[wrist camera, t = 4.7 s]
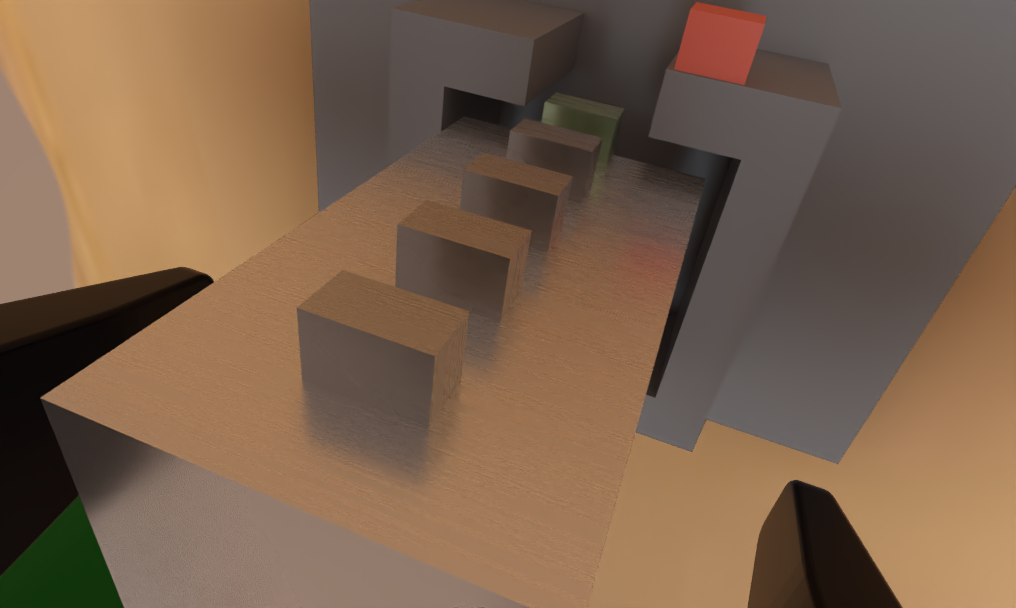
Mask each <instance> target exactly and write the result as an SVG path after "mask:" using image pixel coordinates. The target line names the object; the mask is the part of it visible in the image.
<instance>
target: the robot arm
mask: <svg viewBox="0 0 1016 608" xmlns="http://www.w3.org/2000/svg"><path fill="white" fill-rule="evenodd" d="M212 283H214V281H213V279H212V278H211V277H210V276H209V275H207V274H205V273H202V272H199V271H196V270H193V269H191V268H186V267H178V268H173V269H168V270H163V271H158V272H153V273H148V274H144V275H139V276H134V277H129V278H124V279H119V280H115V281H110V282H105V283H100V284H95V285H90V286H86V287H81V288H76V289H71V290H66V291H61V292H57V293H52V294H47V295H43V296H38V297H33V298H28V299H23V300H18V301H13V302H9V303H4V304H0V577H1V576H2V575H3V574H4V573H5V572H6V570H7V569H8V568H9V567H10V566H11V565H12V564H13V563H14V562H15V561H16V560H17V559H18V558H19V557H20V556H21V555H22V554H23V553H24V552H25V551H26V550H27V549H28V548H29V547H30V546H31V545H32V544H33V543H34V542H35V541H36V540H37V539H38V538H39V536H40V535H41V534H42V533H43V532H44V531H45V530H46V529H47V528H48V527H49V526H50V525H51V524H52V523H53V522H54V521H55V520H56V519H57V518H58V517H59V516H60V515H61V514H62V513H63V512H64V511H65V510H66V509H67V508H68V507H69V506H70V505H71V504H72V503H73V501H74V500H75V499H76V498H77V497H78V496H79V494H78V491H77V489H76V486H75V484H74V481H73V479H72V476H71V474H70V471H69V469H68V466H67V464H66V461H65V459H64V456H63V454H62V451H61V449H60V446H59V444H58V441H57V439H56V436H55V434H54V431H53V429H52V426H51V424H50V421H49V419H48V416H47V414H46V411H45V409H44V406H43V404H42V401H41V399H40V398H41V397H42V396H44V395H45V394H47V393H48V392H50V391H51V390H53V389H54V388H56V387H57V386H59V385H60V384H62V383H63V382H65V381H66V380H68V379H69V378H71V377H72V376H74V375H75V374H77V373H78V372H80V371H81V370H83V369H84V368H86V367H87V366H89V365H90V364H92V363H93V362H95V361H96V360H98V359H99V358H101V357H102V356H104V355H106V354H107V353H109V352H110V351H112V350H113V349H115V348H116V347H118V346H119V345H121V344H122V343H124V342H125V341H127V340H128V339H130V338H131V337H133V336H134V335H136V334H137V333H139V332H140V331H142V330H143V329H145V328H146V327H148V326H149V325H151V324H152V323H154V322H155V321H157V320H158V319H160V318H161V317H163V316H164V315H166V314H167V313H169V312H170V311H172V310H173V309H175V308H176V307H178V306H179V305H181V304H182V303H184V302H185V301H187V300H188V299H190V298H191V297H193V296H194V295H196V294H197V293H199V292H200V291H202V290H203V289H205V288H206V287H208V286H209V285H211V284H212ZM748 608H902V606H901V604H900V603H899V601H898V600H897V598H896V596H895V595H894V593H893V591H892V590H891V588H890V587H889V585H888V583H887V582H886V580H885V578H884V577H883V575H882V574H881V572H880V570H879V569H878V567H877V566H876V564H875V562H874V561H873V559H872V557H871V556H870V554H869V553H868V551H867V549H866V548H865V546H864V545H863V543H862V541H861V540H860V538H859V536H858V535H857V533H856V532H855V530H854V528H853V527H852V525H851V523H850V522H849V520H848V519H847V517H846V515H845V514H844V512H843V511H842V509H841V507H840V506H839V504H838V502H837V501H836V499H835V498H834V496H833V495H832V494H831V493H830V492H828V491H826V490H825V489H822V488H819V487H816V486H813V485H810V484H807V483H804V482H802V481H799V480H793V481H790V482H789V483H788V484H787V485H786V486H785V488H784V489H783V491H782V493H781V494H780V496H779V498H778V500H777V501H776V503H775V505H774V506H773V508H772V510H771V512H770V513H769V515H768V517H767V518H766V520H765V522H764V524H763V526H762V528H761V531H760V534H759V538H758V543H757V550H756V556H755V563H754V569H753V576H752V582H751V589H750V595H749V602H748Z"/></svg>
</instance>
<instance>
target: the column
mask: <svg viewBox="0 0 1016 608" xmlns="http://www.w3.org/2000/svg"><path fill="white" fill-rule="evenodd" d="M624 111H625V109H623V108H619V107H615V106H611V105H607V104H602V103H598V102H594V101H590V100H586V99H582V98H577V97H573V96H569V95H565V94H561V93H557V92H556V93H555V94H554V95H553V96H551V97H550V98H549V99H548V100H546V101H545V103H544V109H543V116H542V122H538V121H534V120H530V119H526V118H525V119H524V120H522V121H521V122H520V123H519V124H518V125H516V126H515V127H514V128H513V129H511V128H507V127H503V126H499V125H495V124H492V123H488V122H484V121H480V120H476V119H472V118H468V117H462V118H461V119H459V120H458V121H456V122H455V123H453V124H452V125H450V126H449V127H447V128H446V129H444V130H443V131H441V132H440V133H438V134H437V135H435V136H434V137H432V138H431V139H429V140H428V141H426V142H425V143H423V144H422V145H420V146H419V147H417V148H416V149H414V150H413V151H411V152H410V153H408V154H407V155H405V156H404V157H402V158H401V159H399V160H398V161H396V162H395V163H393V164H392V165H390V166H389V167H387V168H386V169H384V170H383V171H381V172H380V173H378V174H377V175H375V176H374V177H372V178H371V179H369V180H367V181H366V182H364V183H363V184H361V185H360V186H358V187H357V188H355V189H354V190H352V191H351V192H349V193H348V194H346V195H345V196H343V197H342V198H340V199H339V200H337V201H336V202H334V203H333V204H331V205H330V206H328V207H327V208H325V209H324V210H322V211H321V212H319V213H318V214H316V215H315V216H313V217H312V218H310V219H309V220H307V221H306V222H304V223H303V224H301V225H300V226H298V227H297V228H295V229H294V230H292V231H291V232H289V233H288V234H286V235H285V236H283V237H282V238H280V239H279V240H277V241H276V242H274V243H273V244H271V245H270V246H268V247H267V248H265V249H264V250H262V251H261V252H259V253H258V254H256V255H255V256H253V257H252V258H250V259H249V260H247V261H246V262H244V263H243V264H241V265H240V266H238V267H236V268H235V269H233V270H232V271H230V272H229V273H227V274H226V275H224V276H223V277H221V278H220V279H218V280H217V281H215V282H214V283H212V284H211V285H209V286H208V287H206V288H205V289H203V290H202V291H200V292H199V293H197V294H196V295H194V296H193V297H191V298H190V299H188V300H187V301H185V302H184V303H182V304H181V305H179V306H178V307H176V308H175V309H173V310H172V311H170V312H169V313H167V314H166V315H164V316H163V317H161V318H160V319H158V320H157V321H155V322H154V323H152V324H151V325H149V326H148V327H146V328H145V329H143V330H142V331H140V332H139V333H137V334H136V335H134V336H133V337H131V338H130V339H128V340H127V341H125V342H124V343H122V344H121V345H119V346H118V347H116V348H115V349H113V350H112V351H110V352H109V353H107V354H106V355H104V356H102V357H101V358H99V359H98V360H96V361H95V362H93V363H92V364H90V365H89V366H87V367H86V368H84V369H83V370H81V371H80V372H78V373H77V374H75V375H74V376H72V377H71V378H69V379H68V380H66V381H65V382H63V383H62V384H60V385H59V386H57V387H56V388H54V389H53V390H51V391H50V392H48V393H47V394H45V395H44V396H42V397H41V398H40V399H41V401H42V404H43V406H44V409H45V411H46V414H47V416H48V419H49V421H50V424H51V426H52V429H53V431H54V434H55V436H56V439H57V441H58V444H59V446H60V449H61V451H62V454H63V456H64V459H65V461H66V464H67V466H68V469H69V471H70V474H71V476H72V479H73V481H74V484H75V486H76V489H77V491H78V494H79V496H80V499H81V501H82V504H83V506H84V509H85V511H86V514H87V516H88V519H89V521H90V524H91V526H92V529H93V531H94V534H95V536H96V539H97V541H98V544H99V546H100V549H101V551H102V554H103V556H104V559H105V561H106V564H107V566H108V569H109V571H110V574H111V576H112V579H113V581H114V584H115V586H116V589H117V591H118V594H119V596H120V599H121V601H122V604H123V606H124V608H587V605H588V602H589V598H590V594H591V591H592V587H593V583H594V580H595V576H596V573H597V569H598V565H599V562H600V558H601V555H602V551H603V547H604V544H605V540H606V537H607V533H608V529H609V526H610V522H611V519H612V515H613V511H614V508H615V504H616V500H617V497H618V493H619V490H620V486H621V482H622V479H623V475H624V472H625V468H626V464H627V461H628V457H629V454H630V450H631V446H632V443H633V439H634V436H635V432H636V428H637V425H638V421H639V417H640V414H641V410H642V407H643V403H644V399H645V396H646V392H647V389H648V385H649V381H650V378H651V374H652V371H653V367H654V363H655V360H656V356H657V353H658V349H659V345H660V342H661V338H662V334H663V331H664V327H665V324H666V320H667V316H668V313H669V309H670V306H671V302H672V298H673V295H674V291H675V288H676V284H677V280H678V277H679V273H680V270H681V266H682V262H683V259H684V255H685V251H686V248H687V244H688V241H689V237H690V233H691V230H692V226H693V223H694V219H695V215H696V212H697V208H698V205H699V201H700V197H701V194H702V190H703V187H704V183H705V178H702V177H698V176H694V175H690V174H686V173H682V172H678V171H674V170H670V169H667V168H663V167H659V166H655V165H651V164H647V163H643V162H639V161H635V160H632V159H628V158H624V157H620V156H616V155H613V154H614V153H615V149H616V145H617V141H618V136H619V132H620V128H621V124H622V120H623V115H624Z"/></svg>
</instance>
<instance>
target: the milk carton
mask: <svg viewBox="0 0 1016 608" xmlns="http://www.w3.org/2000/svg"><path fill="white" fill-rule="evenodd" d="M0 608H124V606H123V604H122V601H121V599H120V596H119V594H118V591H117V589H116V586H115V584H114V581H113V579H112V576H111V574H110V571H109V569H108V566H107V564H106V561H105V559H104V556H103V554H102V551H101V549H100V546H99V544H98V541H97V539H96V536H95V534H94V531H93V529H92V526H91V524H90V521H89V519H88V516H87V514H86V511H85V509H84V506H83V504H82V501H81V499H80V496H78V497H77V498H76V499H75V500H74V501H73V503H72V504H71V505H70V506H69V507H68V508H67V509H66V510H65V511H64V512H63V513H62V514H61V515H60V516H59V517H58V518H57V519H56V520H55V521H54V522H53V523H52V524H51V525H50V526H49V527H48V528H47V529H46V530H45V531H44V532H43V533H42V534H41V535H40V536H39V538H38V539H37V540H36V541H35V542H34V543H33V544H32V545H31V546H30V547H29V548H28V549H27V550H26V551H25V552H24V553H23V554H22V555H21V556H20V557H19V558H18V559H17V560H16V561H15V562H14V563H13V564H12V565H11V566H10V567H9V568H8V569H7V570H6V572H5V573H4V574H3V575H2V576H1V577H0Z"/></svg>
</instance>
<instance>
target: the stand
mask: <svg viewBox="0 0 1016 608" xmlns="http://www.w3.org/2000/svg"><path fill="white" fill-rule="evenodd" d="M310 22H311V44H312V67H313V89H314V111H315V134H316V156H317V178H318V200H319V212H321V211H322V210H324V209H325V208H327V207H328V206H330V205H331V204H333V203H334V202H336V201H337V200H339V199H340V198H342V197H343V196H345V195H346V194H348V193H349V192H351V191H352V190H354V189H355V188H357V187H358V186H360V185H361V184H363V183H364V182H366V181H367V180H369V179H371V178H372V177H374V176H375V175H377V174H378V173H380V172H381V171H383V170H384V169H386V168H387V167H389V166H390V165H392V164H393V163H395V162H396V161H398V160H399V159H401V158H402V157H404V156H405V155H407V154H408V153H410V152H411V151H413V150H414V149H416V148H417V147H419V146H420V145H422V144H423V143H425V142H426V141H428V140H429V139H431V138H432V137H434V136H435V135H437V134H438V133H440V132H441V131H443V130H444V129H446V128H447V127H449V126H450V125H452V124H453V123H455V122H456V121H458V120H459V119H461V118H462V117H468V118H472V119H476V120H480V121H484V122H488V123H492V124H495V125H499V126H503V127H507V128H511V129H513V128H514V127H515V126H516V125H518V124H519V123H520V122H521V121H522V120H524V119H525V118H526V119H530V120H534V121H538V122H542V116H543V109H544V103H545V101H546V100H548V99H549V98H550V97H551V96H553V95H554V94H555V93H556V92H557V93H561V94H565V95H569V96H573V97H577V98H582V99H586V100H590V101H594V102H598V103H602V104H607V105H611V106H615V107H619V108H623V109H625V111H624V115H623V120H622V124H621V128H620V132H619V136H618V141H617V145H616V149H615V153H614V154H613V155H616V156H620V157H624V158H628V159H632V160H635V161H639V162H643V163H647V164H651V165H655V166H659V167H663V168H667V169H670V170H674V171H678V172H682V173H686V174H690V175H694V176H698V177H702V178H705V183H704V187H703V190H702V194H701V197H700V201H699V205H698V208H697V212H696V215H695V219H694V223H693V226H692V230H691V233H690V237H689V241H688V244H687V248H686V251H685V255H684V259H683V262H682V266H681V270H680V273H679V277H678V280H677V284H676V288H675V291H674V295H673V298H672V302H671V306H670V309H669V313H668V316H667V320H666V324H665V327H664V331H663V334H662V338H661V342H660V345H659V349H658V353H657V356H656V360H655V363H654V367H653V371H652V374H651V378H650V381H649V385H648V389H647V392H646V396H645V399H644V403H643V407H642V410H641V414H640V417H639V421H638V425H637V428H636V433H639V434H642V435H645V436H648V437H651V438H653V439H656V440H659V441H662V442H665V443H668V444H670V445H673V446H676V447H679V448H682V449H685V450H687V451H690V452H692V451H693V449H694V446H695V444H696V442H697V440H698V437H699V435H700V433H701V430H702V428H703V426H704V424H705V421H706V419H707V420H710V421H713V422H715V423H718V424H721V425H724V426H727V427H730V428H733V429H736V430H739V431H742V432H745V433H748V434H751V435H754V436H757V437H760V438H763V439H766V440H769V441H772V442H774V443H777V444H780V445H783V446H786V447H789V448H792V449H795V450H798V451H801V452H804V453H807V454H810V455H813V456H816V457H819V458H822V459H825V460H828V461H831V462H833V463H836V464H838V463H839V462H840V460H841V458H842V457H843V455H844V454H845V452H846V451H847V449H848V448H849V446H850V444H851V443H852V441H853V440H854V438H855V437H856V435H857V433H858V432H859V430H860V429H861V427H862V426H863V424H864V423H865V421H866V419H867V418H868V416H869V415H870V413H871V412H872V410H873V408H874V407H875V405H876V404H877V402H878V401H879V399H880V398H881V396H882V394H883V393H884V391H885V390H886V388H887V387H888V385H889V383H890V382H891V380H892V379H893V377H894V376H895V374H896V373H897V371H898V369H899V368H900V366H901V365H902V363H903V362H904V360H905V358H906V357H907V355H908V354H909V352H910V351H911V349H912V348H913V346H914V344H915V343H916V341H917V340H918V338H919V337H920V335H921V333H922V332H923V330H924V329H925V327H926V326H927V324H928V323H929V321H930V319H931V318H932V316H933V315H934V313H935V312H936V310H937V308H938V307H939V305H940V304H941V302H942V301H943V299H944V298H945V296H946V294H947V293H948V291H949V290H950V288H951V287H952V285H953V283H954V282H955V280H956V279H957V277H958V276H959V274H960V273H961V271H962V269H963V268H964V266H965V265H966V263H967V262H968V260H969V258H970V257H971V255H972V254H973V252H974V251H975V249H976V248H977V246H978V244H979V243H980V241H981V240H982V238H983V237H984V235H985V233H986V232H987V230H988V229H989V227H990V226H991V224H992V223H993V221H994V219H995V218H996V216H997V215H998V213H999V212H1000V210H1001V208H1002V207H1003V205H1004V204H1005V202H1006V201H1007V199H1008V198H1009V196H1010V194H1011V193H1012V191H1013V190H1014V188H1015V187H1016V0H310Z"/></svg>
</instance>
